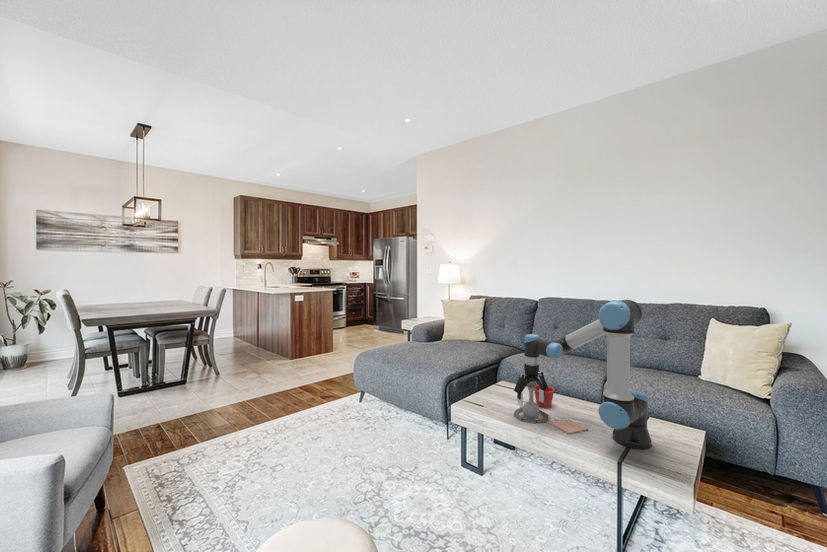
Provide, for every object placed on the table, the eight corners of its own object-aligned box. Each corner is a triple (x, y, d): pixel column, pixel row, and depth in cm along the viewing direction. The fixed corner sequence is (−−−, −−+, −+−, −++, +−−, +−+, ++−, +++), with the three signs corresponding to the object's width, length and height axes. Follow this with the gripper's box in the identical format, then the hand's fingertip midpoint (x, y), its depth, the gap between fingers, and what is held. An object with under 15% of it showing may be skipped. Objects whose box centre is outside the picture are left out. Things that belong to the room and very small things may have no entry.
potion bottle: (521, 417, 185) (521, 383, 185) (524, 411, 193) (524, 379, 193) (538, 421, 181) (538, 386, 181) (541, 414, 189) (541, 381, 189)
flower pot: (557, 408, 197) (557, 391, 197) (537, 408, 198) (537, 391, 197) (550, 401, 208) (550, 385, 208) (531, 401, 208) (531, 385, 208)
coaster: (587, 430, 171) (587, 428, 171) (568, 434, 167) (568, 432, 167) (569, 420, 182) (569, 418, 182) (550, 424, 178) (550, 422, 178)
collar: (555, 420, 182) (555, 416, 182) (528, 425, 176) (528, 421, 176) (533, 408, 198) (533, 404, 198) (508, 412, 192) (508, 408, 192)
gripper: (545, 359, 195) (544, 397, 195) (507, 364, 186) (506, 403, 186) (555, 363, 188) (554, 402, 188) (516, 368, 179) (515, 409, 179)
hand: (530, 403), depth 187 cm, fingers open, 13 cm apart
